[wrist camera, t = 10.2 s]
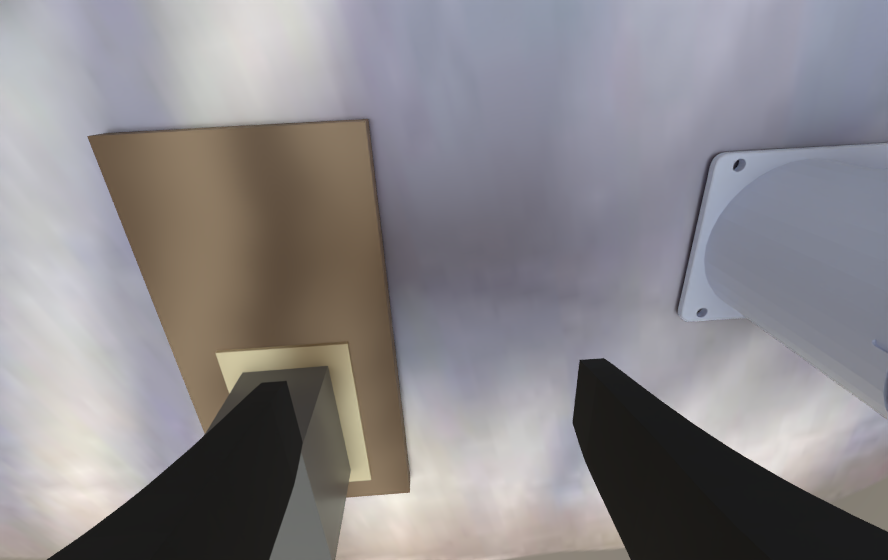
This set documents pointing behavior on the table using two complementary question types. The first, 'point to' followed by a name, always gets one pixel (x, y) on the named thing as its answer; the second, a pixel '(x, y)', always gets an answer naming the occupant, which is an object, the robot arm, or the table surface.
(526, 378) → the table surface
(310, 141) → the pin board
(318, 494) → the block
